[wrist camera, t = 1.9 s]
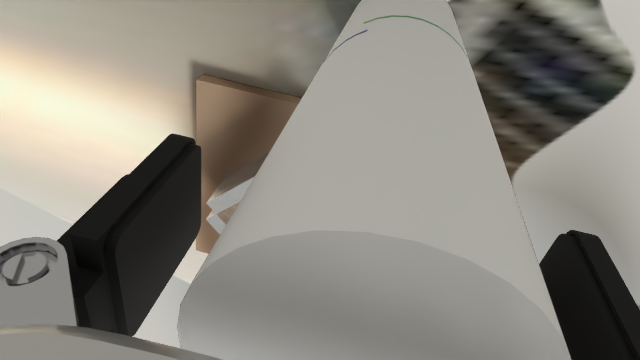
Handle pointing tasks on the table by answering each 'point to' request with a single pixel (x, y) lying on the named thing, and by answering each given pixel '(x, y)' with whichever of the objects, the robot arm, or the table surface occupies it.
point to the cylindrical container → (379, 217)
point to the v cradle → (233, 145)
